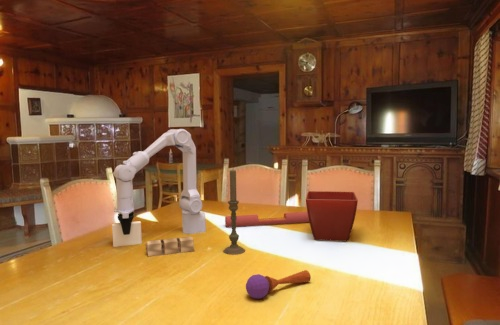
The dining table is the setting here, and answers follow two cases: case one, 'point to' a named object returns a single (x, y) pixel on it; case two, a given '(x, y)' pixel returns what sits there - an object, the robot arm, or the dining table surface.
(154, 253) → the offcut
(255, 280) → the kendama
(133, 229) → the cream rectangular block
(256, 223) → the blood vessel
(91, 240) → the dining table surface
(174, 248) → the block
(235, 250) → the candlestick holder
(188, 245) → the offcut
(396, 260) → the dining table surface
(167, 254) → the rack
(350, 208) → the plant pot
